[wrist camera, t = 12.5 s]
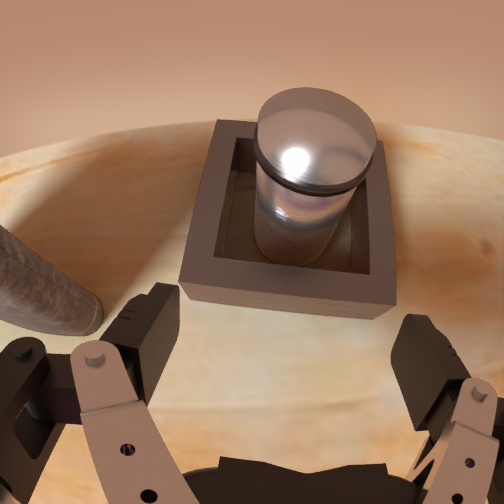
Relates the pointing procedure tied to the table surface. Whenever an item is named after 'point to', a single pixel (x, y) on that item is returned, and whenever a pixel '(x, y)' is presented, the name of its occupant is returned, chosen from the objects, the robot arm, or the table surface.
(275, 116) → the silver metal cylinder
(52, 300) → the flask
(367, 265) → the square frame
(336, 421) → the table surface
